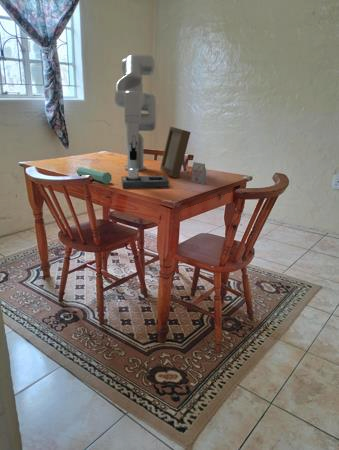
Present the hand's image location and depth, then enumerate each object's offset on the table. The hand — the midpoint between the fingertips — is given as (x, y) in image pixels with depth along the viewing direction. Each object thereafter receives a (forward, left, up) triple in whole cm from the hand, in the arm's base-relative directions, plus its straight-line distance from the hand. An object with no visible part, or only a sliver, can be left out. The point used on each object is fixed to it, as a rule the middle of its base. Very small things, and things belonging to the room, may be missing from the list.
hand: (133, 159), depth 168 cm
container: (-16, -18, -10) cm, 26 cm away
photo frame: (-26, +28, -13) cm, 40 cm away
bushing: (0, 0, -13) cm, 13 cm away
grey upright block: (-3, +34, -13) cm, 36 cm away
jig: (0, +6, -13) cm, 14 cm away
